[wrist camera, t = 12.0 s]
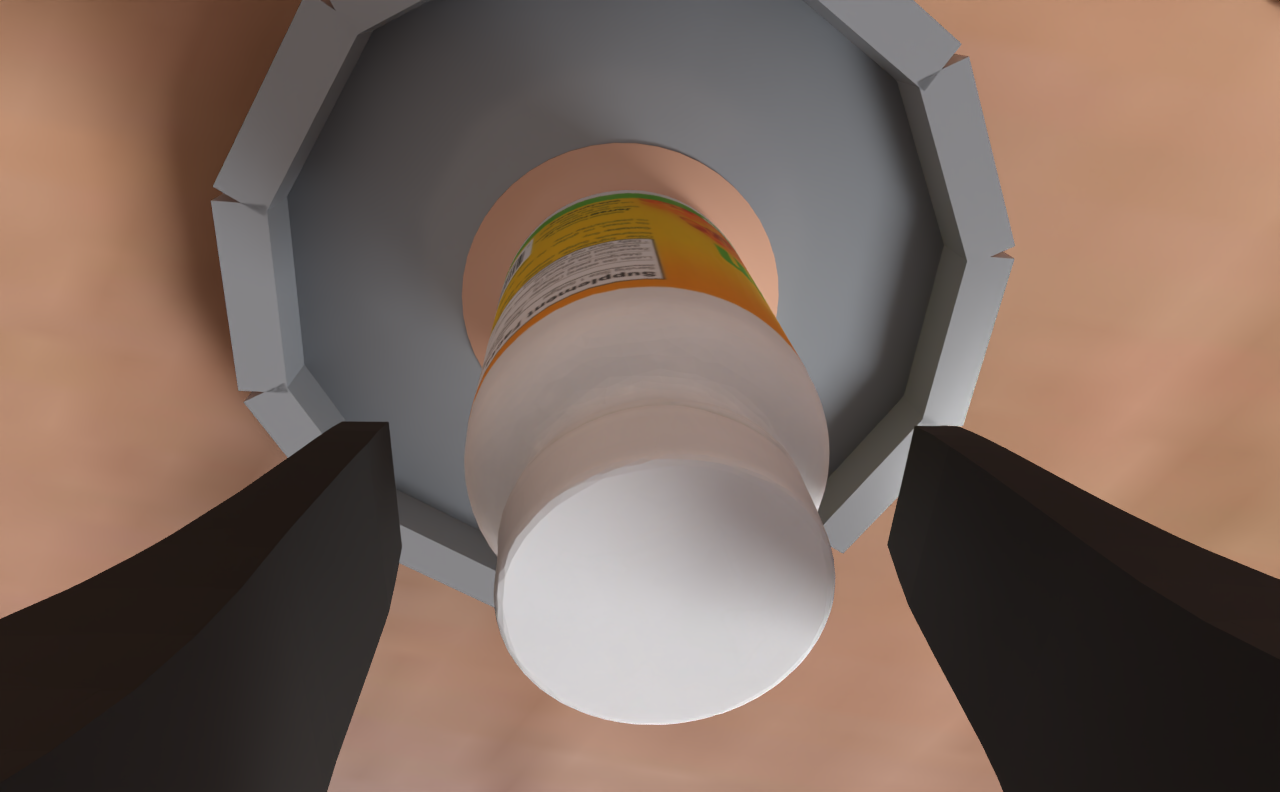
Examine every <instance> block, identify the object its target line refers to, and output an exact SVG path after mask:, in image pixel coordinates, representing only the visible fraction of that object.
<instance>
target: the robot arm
mask: <svg viewBox="0 0 1280 792" xmlns="http://www.w3.org/2000/svg"><path fill="white" fill-rule="evenodd" d="M887 545H888V548H889V551H890V554H891V557H892V560H893V563H894V566H895V569H896V572H897V575H898V578H899V581H900V584H901V586H902V589H903V592H904V594H905V597H906V600H907V602H908V605H909V607H910V609H911V611H912V613H913V615H914V617H915V619H916V621H917V623H918V625H919V627H920V629H921V631H922V633H923V635H924V637H925V638H926V640H927V642H928V644H929V646H930V648H931V650H932V652H933V654H934V656H935V658H936V659H937V661H938V663H939V665H940V667H941V669H942V671H943V673H944V674H945V676H946V678H947V680H948V682H949V684H950V686H951V688H952V689H953V691H954V693H955V695H956V697H957V699H958V701H959V703H960V704H961V706H962V708H963V710H964V712H965V714H966V716H967V718H968V720H969V721H970V723H971V725H972V727H973V729H974V731H975V733H976V735H977V736H978V738H979V740H980V742H981V744H982V746H983V748H984V750H985V752H986V754H987V756H988V759H989V761H990V763H991V765H992V767H993V769H994V771H995V773H996V775H997V777H998V780H999V782H1000V785H1001V787H1002V790H1003V792H1280V579H1277V578H1274V577H1272V576H1269V575H1267V574H1264V573H1262V572H1259V571H1257V570H1254V569H1252V568H1250V567H1247V566H1245V565H1242V564H1240V563H1237V562H1235V561H1233V560H1230V559H1228V558H1225V557H1223V556H1220V555H1218V554H1215V553H1213V552H1211V551H1208V550H1206V549H1204V548H1201V547H1199V546H1197V545H1195V544H1192V543H1190V542H1188V541H1186V540H1183V539H1181V538H1179V537H1177V536H1175V535H1172V534H1170V533H1168V532H1166V531H1164V530H1162V529H1160V528H1158V527H1156V526H1154V525H1152V524H1150V523H1148V522H1145V521H1143V520H1141V519H1139V518H1137V517H1135V516H1133V515H1131V514H1129V513H1127V512H1125V511H1123V510H1121V509H1119V508H1117V507H1115V506H1113V505H1111V504H1109V503H1107V502H1105V501H1103V500H1101V499H1099V498H1097V497H1095V496H1094V495H1092V494H1090V493H1088V492H1086V491H1084V490H1082V489H1080V488H1078V487H1077V486H1075V485H1073V484H1071V483H1069V482H1067V481H1065V480H1063V479H1062V478H1060V477H1058V476H1056V475H1054V474H1052V473H1050V472H1049V471H1047V470H1045V469H1043V468H1041V467H1039V466H1037V465H1036V464H1034V463H1032V462H1030V461H1028V460H1026V459H1024V458H1023V457H1021V456H1019V455H1017V454H1015V453H1013V452H1011V451H1009V450H1008V449H1006V448H1004V447H1002V446H1000V445H998V444H996V443H994V442H992V441H990V440H988V439H986V438H984V437H982V436H980V435H977V434H975V433H973V432H971V431H968V430H966V429H963V428H961V427H958V426H914V430H913V435H912V439H911V444H910V448H909V452H908V457H907V461H906V465H905V470H904V474H903V479H902V483H901V487H900V492H899V496H898V501H897V505H896V509H895V514H894V518H893V523H892V527H891V531H890V536H889V540H888V544H887ZM401 550H402V541H401V532H400V523H399V513H398V504H397V495H396V485H395V476H394V466H393V457H392V448H391V438H390V429H389V422H355V421H342V422H340V423H338V424H337V425H335V426H333V427H331V428H330V429H328V430H327V431H325V432H324V433H322V434H321V435H320V436H318V437H317V438H315V439H314V440H312V441H311V442H310V443H308V444H307V445H305V446H304V447H303V448H301V449H300V450H298V451H297V452H296V453H294V454H293V455H291V456H290V457H289V458H287V459H286V460H284V461H283V462H281V463H280V464H279V465H277V466H276V467H274V468H273V469H271V470H270V471H269V472H267V473H266V474H264V475H263V476H261V477H260V478H259V479H257V480H256V481H254V482H253V483H251V484H250V485H249V486H247V487H246V488H244V489H243V490H241V491H240V492H238V493H237V494H235V495H234V496H232V497H230V498H229V499H227V500H226V501H224V502H223V503H221V504H219V505H218V506H216V507H215V508H213V509H211V510H210V511H208V512H207V513H205V514H204V515H202V516H200V517H199V518H197V519H196V520H194V521H192V522H191V523H189V524H188V525H186V526H185V527H183V528H181V529H180V530H178V531H177V532H175V533H173V534H172V535H170V536H168V537H167V538H165V539H163V540H161V541H160V542H158V543H156V544H154V545H153V546H151V547H149V548H147V549H145V550H144V551H142V552H140V553H138V554H136V555H135V556H133V557H131V558H129V559H127V560H125V561H123V562H121V563H119V564H117V565H115V566H113V567H111V568H110V569H108V570H106V571H104V572H102V573H100V574H98V575H96V576H94V577H92V578H90V579H88V580H86V581H84V582H82V583H80V584H78V585H76V586H74V587H72V588H70V589H67V590H65V591H63V592H61V593H58V594H56V595H54V596H51V597H49V598H47V599H45V600H42V601H40V602H38V603H36V604H33V605H31V606H29V607H26V608H24V609H22V610H20V611H17V612H15V613H13V614H11V615H8V616H6V617H4V618H1V619H0V792H327V790H328V787H329V783H330V780H331V777H332V774H333V770H334V767H335V764H336V761H337V758H338V755H339V752H340V749H341V746H342V744H343V741H344V738H345V735H346V732H347V730H348V727H349V724H350V721H351V718H352V716H353V713H354V710H355V707H356V704H357V702H358V699H359V696H360V693H361V690H362V688H363V685H364V682H365V679H366V676H367V673H368V671H369V668H370V665H371V662H372V659H373V656H374V654H375V651H376V648H377V645H378V642H379V639H380V636H381V634H382V631H383V628H384V625H385V622H386V619H387V616H388V613H389V609H390V605H391V600H392V595H393V591H394V586H395V581H396V576H397V571H398V566H399V561H400V555H401Z"/></svg>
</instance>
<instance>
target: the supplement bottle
mask: <svg viewBox="0 0 1280 792" xmlns="http://www.w3.org/2000/svg"><path fill="white" fill-rule="evenodd" d="M464 468H465V481H466V486H467V492H468V497H469V500H470V504H471V507H472V511H473V513H474V516H475V518H476V521H477V523H478V526H479V528H480V530H481V532H482V534H483V536H484V537H485V539H486V541H487V543H488V544H489V546H490V548H491V549H492V550H493V552H494V553H495V554H496V556H497V564H496V573H495V582H494V608H495V614H496V620H497V623H498V627H499V630H500V633H501V636H502V638H503V641H504V643H505V645H506V647H507V649H508V652H509V653H510V655H511V656H512V658H513V659H514V661H515V663H516V664H517V665H518V666H519V668H520V669H521V670H522V671H523V673H524V674H525V675H526V676H527V677H528V678H529V679H530V680H531V681H532V682H533V683H534V684H535V685H536V686H538V687H539V688H540V689H541V690H543V691H544V692H545V693H547V694H548V695H550V696H551V697H553V698H555V699H556V700H558V701H559V702H561V703H563V704H565V705H567V706H569V707H572V708H574V709H576V710H578V711H580V712H583V713H586V714H589V715H592V716H595V717H599V718H602V719H606V720H611V721H615V722H622V723H629V724H652V725H665V724H676V723H683V722H689V721H695V720H700V719H704V718H708V717H711V716H714V715H718V714H722V713H725V712H727V711H730V710H732V709H735V708H737V707H740V706H742V705H744V704H746V703H748V702H750V701H752V700H754V699H756V698H758V697H759V696H761V695H763V694H764V693H766V692H767V691H769V690H770V689H772V688H773V687H775V686H776V685H777V684H779V683H780V682H781V681H782V680H783V679H784V678H786V677H787V676H788V675H789V674H790V673H791V672H792V671H793V670H794V669H795V668H796V667H797V666H798V665H799V664H800V663H801V662H802V661H803V660H804V658H805V657H806V656H807V655H808V654H809V652H810V651H811V649H812V648H813V646H814V645H815V643H816V642H817V640H818V639H819V637H820V635H821V633H822V631H823V629H824V627H825V624H826V622H827V619H828V617H829V614H830V611H831V608H832V603H833V599H834V589H835V569H834V559H833V555H832V550H831V546H830V542H829V538H828V536H827V533H826V531H825V528H824V526H823V524H822V521H821V519H820V516H819V514H818V509H819V506H820V503H821V500H822V497H823V494H824V491H825V487H826V482H827V478H828V468H829V436H828V429H827V423H826V418H825V415H824V411H823V407H822V404H821V401H820V398H819V396H818V394H817V391H816V389H815V386H814V384H813V382H812V381H811V379H810V377H809V375H808V372H807V370H806V368H805V366H804V365H803V363H802V361H801V360H800V358H799V356H798V355H797V353H796V351H795V350H794V348H793V346H792V344H791V343H790V341H789V339H788V338H787V336H786V334H785V333H784V331H783V329H782V327H781V326H780V324H779V322H778V321H777V319H776V317H775V315H774V314H773V312H772V311H771V309H770V307H769V305H768V304H767V302H766V300H765V299H764V297H763V295H762V293H761V292H760V290H759V289H758V287H757V286H756V284H755V282H754V281H753V279H752V277H751V275H750V274H749V272H748V270H747V269H746V267H745V265H744V264H743V262H742V261H741V259H740V257H739V255H738V253H737V252H736V250H735V249H734V247H733V246H732V244H731V243H730V242H729V240H728V239H727V238H726V237H725V236H724V234H723V233H722V232H721V231H720V230H719V229H718V228H717V227H716V226H715V225H714V224H713V223H712V222H711V221H710V220H709V219H708V218H707V217H705V216H704V215H703V214H701V213H700V212H698V211H697V210H695V209H694V208H692V207H691V206H689V205H687V204H685V203H683V202H681V201H679V200H676V199H674V198H671V197H668V196H666V195H661V194H657V193H653V192H647V191H638V190H619V191H610V192H603V193H599V194H595V195H591V196H587V197H584V198H581V199H579V200H576V201H574V202H572V203H570V204H568V205H566V206H564V207H562V208H560V209H559V210H557V211H556V212H554V213H553V214H551V215H550V216H549V217H547V218H546V219H545V220H544V221H543V222H542V223H541V224H540V225H539V226H538V227H537V228H536V229H535V230H534V231H533V232H532V233H531V234H530V235H529V236H528V238H527V239H526V240H525V241H524V243H523V244H522V246H521V247H520V249H519V251H518V252H517V254H516V256H515V257H514V259H513V261H512V264H511V266H510V268H509V271H508V273H507V275H506V278H505V281H504V285H503V288H502V292H501V295H500V299H499V303H498V306H497V311H496V314H495V319H494V323H493V327H492V331H491V335H490V339H489V342H488V345H487V349H486V354H485V359H484V363H483V367H482V370H481V374H480V378H479V382H478V386H477V390H476V393H475V397H474V401H473V405H472V409H471V413H470V418H469V422H468V429H467V436H466V445H465V455H464Z"/></svg>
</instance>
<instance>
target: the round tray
mask: <svg viewBox="0 0 1280 792" xmlns="http://www.w3.org/2000/svg"><path fill="white" fill-rule="evenodd" d="M960 46H961V43H960V42H959V41H958V40H957V39H956V38H954V37H953V36H952V35H951V34H950V33H949V32H948V31H947V30H946V29H944V28H943V27H942V26H941V25H940V24H939V23H938V22H937V21H936V20H935V19H933V18H932V17H931V16H930V15H929V14H928V13H927V12H926V11H925V10H924V9H922V8H921V7H920V6H919V5H918V4H917V3H916V2H915V1H914V0H302V2H301V4H300V6H299V8H298V10H297V12H296V14H295V16H294V18H293V20H292V22H291V25H290V27H289V29H288V31H287V33H286V35H285V37H284V39H283V41H282V43H281V45H280V48H279V50H278V52H277V54H276V56H275V58H274V60H273V62H272V64H271V66H270V68H269V70H268V73H267V75H266V77H265V79H264V81H263V83H262V85H261V87H260V89H259V91H258V93H257V95H256V98H255V100H254V102H253V104H252V106H251V108H250V110H249V112H248V114H247V116H246V118H245V120H244V123H243V125H242V127H241V129H240V131H239V133H238V135H237V137H236V139H235V141H234V143H233V145H232V148H231V150H230V152H229V154H228V156H227V158H226V160H225V162H224V164H223V166H222V168H221V171H220V173H219V175H218V177H217V179H216V181H215V183H214V185H213V187H214V188H216V189H218V190H219V191H221V192H223V194H221V195H220V196H218V197H216V198H214V199H213V200H211V205H212V212H213V219H214V226H215V233H216V240H217V247H218V254H219V260H220V267H221V274H222V281H223V288H224V295H225V302H226V309H227V316H228V322H229V329H230V336H231V343H232V350H233V357H234V364H235V371H236V378H237V384H238V391H252V392H251V394H250V395H249V396H248V397H247V398H246V400H245V401H244V403H245V405H246V406H247V407H248V408H249V410H250V411H251V412H252V413H253V415H254V416H255V417H256V418H257V420H258V421H259V422H260V423H261V425H262V426H263V427H264V428H265V430H266V431H267V432H268V433H269V435H270V436H271V437H272V438H273V440H274V441H275V442H276V443H277V445H278V446H279V447H280V448H281V450H282V451H283V452H284V453H285V455H286V456H287V457H288V458H289V457H290V456H291V455H293V454H294V453H296V452H297V451H298V450H300V449H301V448H303V447H304V446H305V445H307V444H308V443H310V442H311V441H312V440H314V439H315V438H317V437H318V436H320V435H321V434H322V433H324V432H325V431H327V430H328V429H330V428H331V427H333V426H335V425H337V424H338V423H340V422H342V421H355V422H389V429H390V438H391V448H392V457H393V466H394V476H395V485H396V495H397V504H398V513H399V523H400V532H401V541H402V550H401V555H400V561H399V563H400V564H402V565H405V566H407V567H409V568H411V569H413V570H415V571H417V572H420V573H422V574H424V575H426V576H428V577H430V578H432V579H434V580H437V581H439V582H441V583H443V584H445V585H447V586H449V587H452V588H454V589H456V590H458V591H460V592H462V593H464V594H467V595H469V596H471V597H473V598H475V599H477V600H479V601H481V602H484V603H486V604H488V605H490V606H492V607H494V582H495V573H496V564H497V556H496V554H495V553H494V552H493V550H492V549H491V548H490V546H489V544H488V543H487V541H486V539H485V537H484V536H483V534H482V532H481V530H480V528H479V526H478V523H477V521H476V518H475V516H474V513H473V511H472V507H471V504H470V500H469V497H468V492H467V486H466V481H465V468H464V455H465V445H466V436H467V429H468V422H469V418H470V413H471V409H472V405H473V401H474V397H475V393H476V390H477V386H478V382H479V378H480V374H481V370H482V367H483V363H484V359H485V354H486V349H487V345H488V342H489V339H490V335H491V331H492V327H493V323H494V319H495V314H496V311H497V306H498V303H499V299H500V295H501V292H502V288H503V285H504V281H505V278H506V275H507V273H508V271H509V268H510V266H511V264H512V261H513V259H514V257H515V256H516V254H517V252H518V251H519V249H520V247H521V246H522V244H523V243H524V241H525V240H526V239H527V238H528V236H529V235H530V234H531V233H532V232H533V231H534V230H535V229H536V228H537V227H538V226H539V225H540V224H541V223H542V222H543V221H544V220H545V219H546V218H547V217H549V216H550V215H551V214H553V213H554V212H556V211H557V210H559V209H560V208H562V207H564V206H566V205H568V204H570V203H572V202H574V201H576V200H579V199H581V198H584V197H587V196H591V195H595V194H599V193H603V192H610V191H619V190H638V191H647V192H653V193H657V194H661V195H666V196H668V197H671V198H674V199H676V200H679V201H681V202H683V203H685V204H687V205H689V206H691V207H692V208H694V209H695V210H697V211H698V212H700V213H701V214H703V215H704V216H705V217H707V218H708V219H709V220H710V221H711V222H712V223H713V224H714V225H715V226H716V227H717V228H718V229H719V230H720V231H721V232H722V233H723V234H724V236H725V237H726V238H727V239H728V240H729V242H730V243H731V244H732V246H733V247H734V249H735V250H736V252H737V253H738V255H739V257H740V259H741V261H742V262H743V264H744V265H745V267H746V269H747V270H748V272H749V274H750V275H751V277H752V279H753V281H754V282H755V284H756V286H757V287H758V289H759V290H760V292H761V293H762V295H763V297H764V299H765V300H766V302H767V304H768V305H769V307H770V309H771V311H772V312H773V314H774V315H775V317H776V319H777V321H778V322H779V324H780V326H781V327H782V329H783V331H784V333H785V334H786V336H787V338H788V339H789V341H790V343H791V344H792V346H793V348H794V350H795V351H796V353H797V355H798V356H799V358H800V360H801V361H802V363H803V365H804V366H805V368H806V370H807V372H808V375H809V377H810V379H811V381H812V382H813V384H814V386H815V389H816V391H817V394H818V396H819V398H820V401H821V404H822V407H823V411H824V415H825V418H826V423H827V429H828V436H829V468H828V478H827V482H826V487H825V491H824V494H823V497H822V500H821V503H820V506H819V509H818V514H819V516H820V519H821V521H822V524H823V526H824V528H825V531H826V533H827V536H828V538H829V542H830V546H831V547H833V548H834V549H836V550H838V551H839V552H841V553H844V552H845V551H846V550H847V549H848V548H849V547H850V546H851V545H852V544H853V543H854V542H855V541H856V540H857V539H858V538H859V536H860V535H861V534H862V533H863V532H864V531H865V530H866V529H867V528H868V527H869V526H870V525H871V524H872V523H873V522H874V521H875V520H876V519H877V518H878V517H879V516H880V515H881V514H882V513H883V512H884V511H885V510H886V509H887V508H888V507H889V506H890V505H891V503H892V502H893V501H894V500H895V499H896V498H897V497H898V496H899V492H900V487H901V483H902V479H903V474H904V470H905V465H906V461H907V457H908V452H909V448H910V444H911V439H912V435H913V430H914V426H963V424H964V421H965V417H966V414H967V411H968V408H969V404H970V401H971V398H972V395H973V392H974V388H975V385H976V382H977V379H978V375H979V372H980V369H981V366H982V362H983V359H984V356H985V353H986V349H987V346H988V343H989V340H990V336H991V333H992V330H993V327H994V323H995V320H996V317H997V314H998V311H999V307H1000V304H1001V301H1002V298H1003V294H1004V291H1005V288H1006V285H1007V281H1008V278H1009V275H1010V272H1011V268H1012V265H1013V262H1014V258H1013V257H1011V256H1009V255H1008V254H1006V253H1004V252H1003V251H1005V250H1007V249H1009V248H1012V247H1014V246H1015V244H1014V240H1013V235H1012V231H1011V227H1010V223H1009V219H1008V215H1007V211H1006V207H1005V203H1004V199H1003V194H1002V190H1001V186H1000V182H999V178H998V174H997V170H996V166H995V162H994V157H993V153H992V149H991V145H990V141H989V137H988V133H987V129H986V125H985V121H984V116H983V112H982V108H981V104H980V100H979V96H978V92H977V88H976V84H975V79H974V75H973V71H972V67H971V63H970V59H969V57H968V56H963V55H957V54H954V53H955V52H956V51H957V49H958V48H959V47H960Z"/></svg>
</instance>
